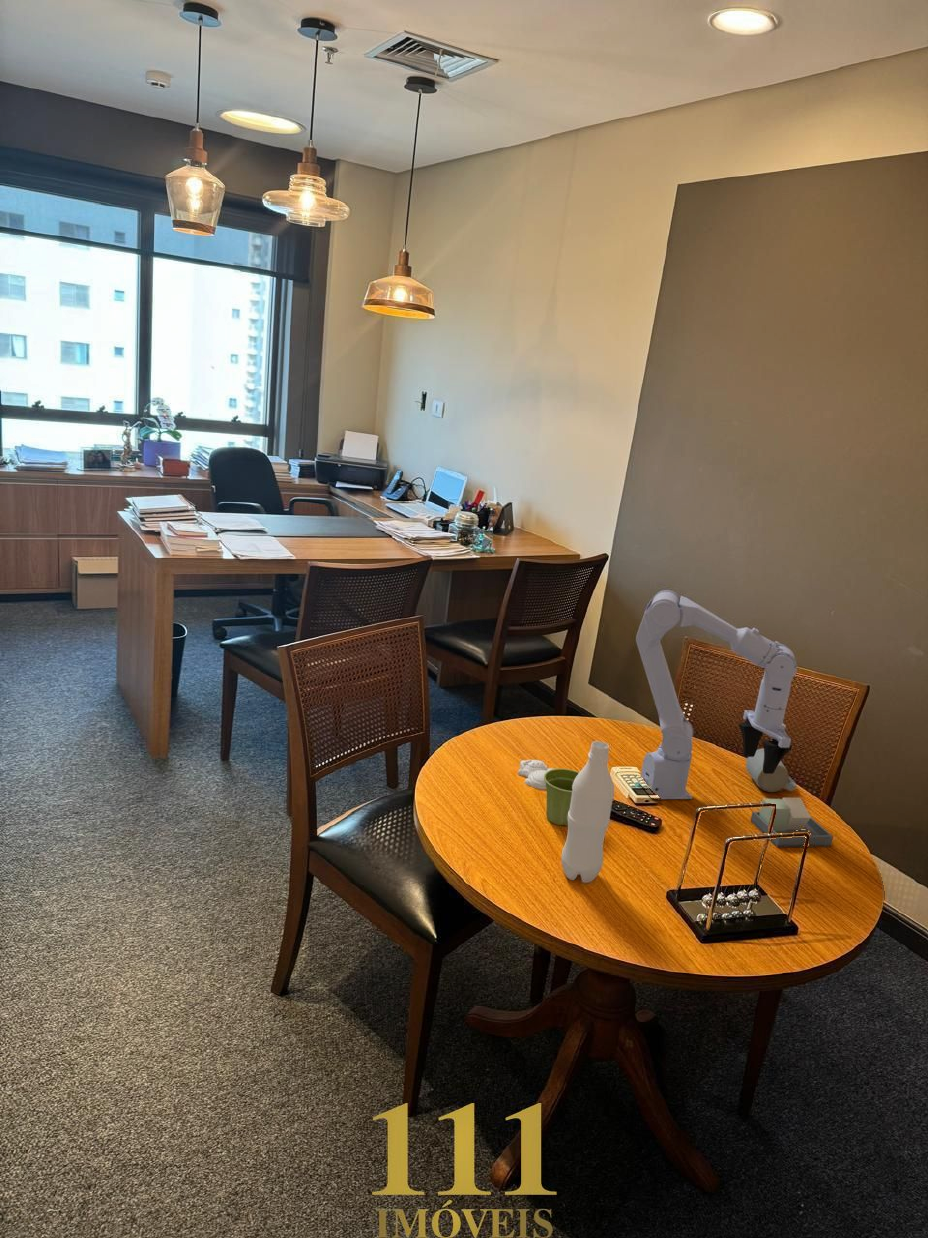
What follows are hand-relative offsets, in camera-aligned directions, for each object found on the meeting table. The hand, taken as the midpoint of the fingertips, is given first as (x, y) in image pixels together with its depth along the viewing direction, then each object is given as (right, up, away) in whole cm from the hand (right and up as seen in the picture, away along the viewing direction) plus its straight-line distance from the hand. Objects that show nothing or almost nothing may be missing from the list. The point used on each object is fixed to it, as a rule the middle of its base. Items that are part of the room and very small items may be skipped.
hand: (758, 764), depth 174 cm
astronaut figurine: (-46, -4, +8) cm, 46 cm away
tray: (+4, -13, -6) cm, 15 cm away
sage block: (+1, -12, -4) cm, 13 cm away
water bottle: (-41, -15, -28) cm, 52 cm away
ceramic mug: (+8, -8, +15) cm, 19 cm away
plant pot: (-42, -9, -9) cm, 44 cm away
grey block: (+6, -11, -6) cm, 14 cm away
